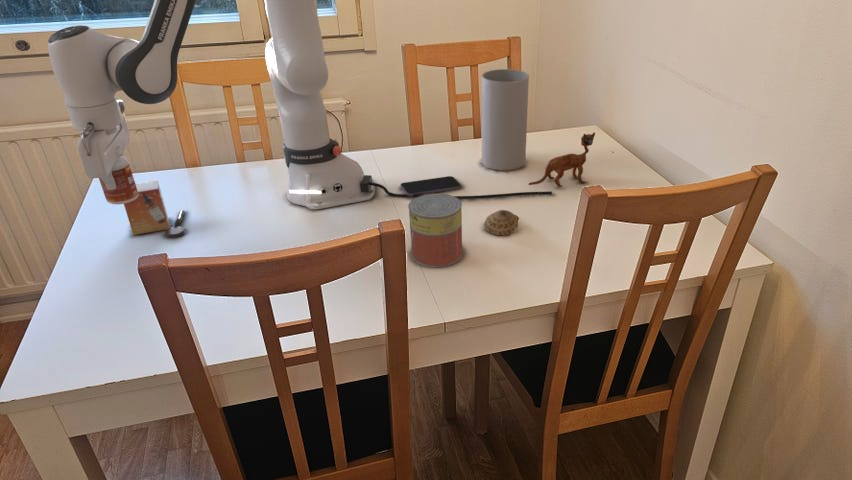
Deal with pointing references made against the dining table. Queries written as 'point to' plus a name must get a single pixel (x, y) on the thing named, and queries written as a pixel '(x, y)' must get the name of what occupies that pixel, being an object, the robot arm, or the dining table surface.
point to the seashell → (501, 223)
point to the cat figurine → (567, 163)
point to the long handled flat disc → (176, 227)
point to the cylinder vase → (504, 118)
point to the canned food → (436, 229)
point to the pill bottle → (121, 182)
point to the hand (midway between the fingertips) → (117, 180)
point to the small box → (147, 209)
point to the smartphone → (430, 185)
